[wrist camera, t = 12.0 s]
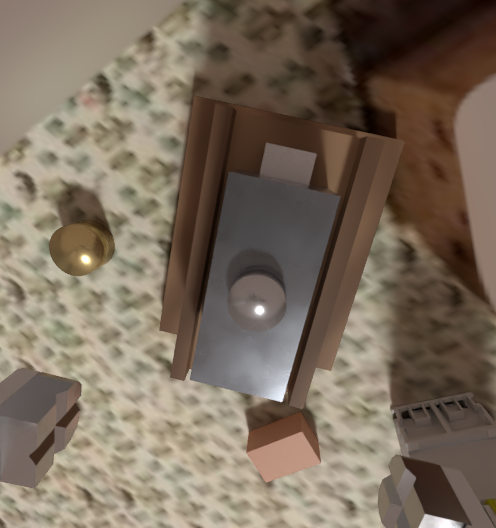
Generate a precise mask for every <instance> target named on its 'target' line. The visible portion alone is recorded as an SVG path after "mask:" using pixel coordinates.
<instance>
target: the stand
mask: <svg viewBox="0 0 496 528" xmlns="http://www.w3.org/2000/svg"><path fill="white" fill-rule="evenodd" d="M266 143H270V144H275V145H279V146H284V147H289V148H293V149H298V150H302V151H307V152H312V153H316V154H317V156H316V159H315V163H314V167H313V171H312V175H311V179H310V183H309V184H310V185H315V186H319V187H324V188H328V189H330V190H331V191H333V192H335V193H336V194H338V195H340V196H341V197H340V201H339V204H338V208H337V211H336V215H335V218H334V222H333V225H332V229H331V232H330V236H329V239H328V243H327V247H326V250H325V254H324V257H323V261H322V264H321V268H320V271H319V275H318V278H317V282H316V285H315V289H314V292H313V296H312V299H311V303H310V306H309V310H308V313H307V317H306V320H305V324H304V327H303V331H302V334H301V338H300V341H299V345H298V348H297V352H296V355H295V359H294V362H293V366H292V369H291V373H290V376H289V380H288V383H287V387H286V391H285V392H288V397H289V406H291V407H295V408H299V409H303V407H304V404H305V401H306V397H307V394H308V391H309V388H310V384H311V381H312V378H313V374H314V371H315V368H316V367H317V368H321V369H325V370H329V371H331V369H332V366H333V363H334V360H335V357H336V354H337V351H338V347H339V344H340V341H341V338H342V335H343V332H344V329H345V326H346V323H347V320H348V316H349V313H350V310H351V307H352V304H353V301H354V298H355V295H356V292H357V289H358V285H359V282H360V279H361V276H362V273H363V270H364V267H365V264H366V261H367V258H368V254H369V251H370V248H371V245H372V242H373V239H374V236H375V233H376V230H377V227H378V223H379V220H380V217H381V214H382V211H383V208H384V205H385V202H386V199H387V196H388V192H389V189H390V186H391V183H392V180H393V177H394V174H395V171H396V168H397V165H398V161H399V158H400V155H401V152H402V149H403V146H404V143H405V141H403V140H398V139H394V138H389V137H384V136H380V135H375V134H370V133H366V132H361V131H356V130H352V129H347V128H342V127H338V126H333V125H328V124H324V123H319V122H314V121H310V120H305V119H300V118H296V117H291V116H286V115H282V114H277V113H272V112H268V111H263V110H258V109H254V108H249V107H244V106H240V105H235V104H230V103H226V102H221V101H216V100H212V99H207V98H202V97H198V96H194V100H193V106H192V113H191V120H190V127H189V133H188V140H187V147H186V154H185V160H184V167H183V174H182V181H181V187H180V194H179V201H178V208H177V214H176V221H175V228H174V235H173V241H172V248H171V255H170V262H169V268H168V275H167V282H166V289H165V295H164V302H163V309H162V316H161V322H160V329H159V330H160V331H164V332H169V333H173V334H177V339H176V345H175V352H174V358H173V364H172V370H171V376H170V378H175V379H179V380H183V381H184V380H185V377H186V375H187V373H188V371H189V369H192V366H193V360H194V355H195V350H196V344H197V339H198V334H199V328H200V323H201V318H202V312H203V307H204V301H205V296H206V291H207V285H208V280H209V275H210V269H211V264H212V259H213V253H214V248H215V243H216V237H217V232H218V227H219V221H220V216H221V210H222V205H223V200H224V194H225V189H226V184H227V178H228V173H229V171H234V170H239V169H243V170H247V171H252V172H256V173H260V170H261V165H262V160H263V156H264V151H265V146H266Z"/></svg>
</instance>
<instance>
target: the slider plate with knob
mask: <svg viewBox="0 0 496 528" xmlns="http://www.w3.org/2000/svg"><path fill="white" fill-rule="evenodd" d="M316 156H317V154H316V153H312V152H307V151H302V150H298V149H293V148H289V147H284V146H279V145H275V144H270V143H266V146H265V151H264V156H263V160H262V165H261V170H260V173H256V172H252V171H247V170H243V169H239V170H234V171H229V173H228V178H227V184H226V189H225V194H224V200H223V205H222V210H221V216H220V221H219V227H218V232H217V237H216V243H215V248H214V253H213V259H212V264H211V269H210V275H209V280H208V285H207V291H206V296H205V301H204V307H203V312H202V318H201V323H200V328H199V334H198V339H197V344H196V350H195V355H194V360H193V366H192V371H191V376H190V380H193V381H197V382H201V383H205V384H209V385H213V386H217V387H222V388H226V389H230V390H234V391H238V392H242V393H246V394H251V395H255V396H259V397H263V398H267V399H271V400H275V401H280V402H282V401H283V398H284V394H285V391H286V387H287V383H288V380H289V376H290V373H291V369H292V366H293V362H294V359H295V355H296V352H297V348H298V345H299V341H300V338H301V334H302V331H303V327H304V324H305V320H306V317H307V313H308V310H309V306H310V303H311V299H312V296H313V292H314V289H315V285H316V282H317V278H318V275H319V271H320V268H321V264H322V261H323V257H324V254H325V250H326V247H327V243H328V239H329V236H330V232H331V229H332V225H333V222H334V218H335V215H336V211H337V208H338V204H339V201H340V197H341V196H340V195H338V194H336V193H335V192H333V191H331V190H330V189H328V188H324V187H319V186H315V185H310V184H309V183H310V179H311V175H312V171H313V167H314V163H315V159H316Z"/></svg>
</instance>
